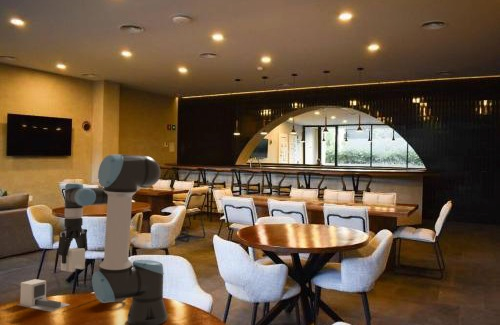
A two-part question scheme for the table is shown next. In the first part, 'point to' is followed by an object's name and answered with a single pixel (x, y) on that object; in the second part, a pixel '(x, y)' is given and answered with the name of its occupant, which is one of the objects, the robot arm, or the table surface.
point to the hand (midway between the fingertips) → (72, 268)
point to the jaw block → (75, 259)
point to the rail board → (46, 305)
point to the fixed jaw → (32, 291)
